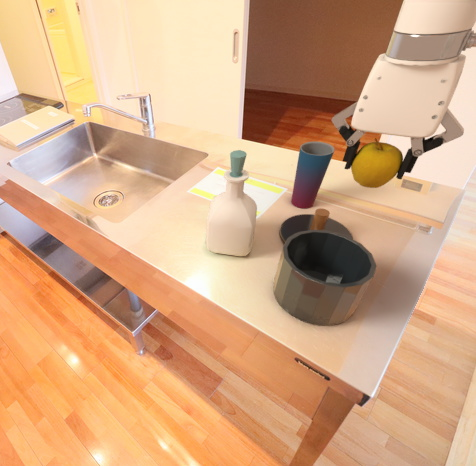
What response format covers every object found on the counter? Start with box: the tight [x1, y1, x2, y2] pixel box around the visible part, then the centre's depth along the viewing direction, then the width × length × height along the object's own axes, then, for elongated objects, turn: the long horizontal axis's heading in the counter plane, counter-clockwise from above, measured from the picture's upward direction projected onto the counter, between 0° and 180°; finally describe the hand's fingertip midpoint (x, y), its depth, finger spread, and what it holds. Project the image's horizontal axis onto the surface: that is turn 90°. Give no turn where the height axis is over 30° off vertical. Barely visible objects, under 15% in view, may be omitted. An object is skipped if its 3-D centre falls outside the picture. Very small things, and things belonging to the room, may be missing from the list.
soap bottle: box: [205, 149, 258, 257], centre depth 66 cm, size 10×10×23 cm
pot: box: [272, 230, 377, 327], centre depth 57 cm, size 13×13×10 cm
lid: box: [279, 207, 354, 243], centre depth 69 cm, size 14×14×7 cm
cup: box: [290, 141, 336, 210], centre depth 76 cm, size 7×7×15 cm
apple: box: [350, 137, 404, 189], centre depth 51 cm, size 6×6×8 cm
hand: (373, 169), depth 52 cm, fingers closed on apple, 6 cm apart
